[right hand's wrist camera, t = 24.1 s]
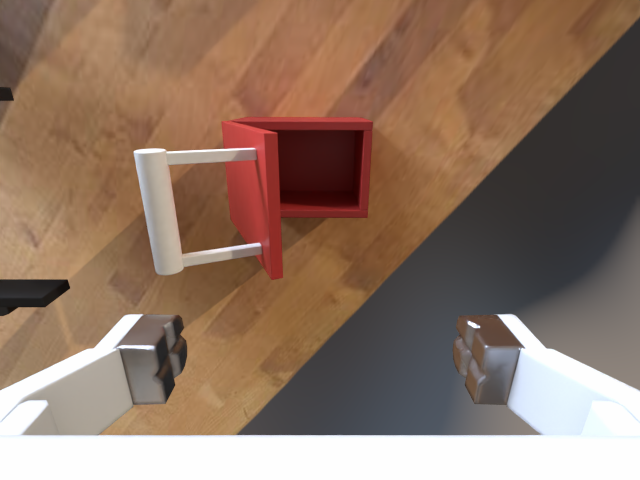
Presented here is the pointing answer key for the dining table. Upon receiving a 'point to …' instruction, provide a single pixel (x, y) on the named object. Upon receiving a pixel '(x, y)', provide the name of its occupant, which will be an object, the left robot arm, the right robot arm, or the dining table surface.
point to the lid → (243, 191)
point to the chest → (321, 164)
